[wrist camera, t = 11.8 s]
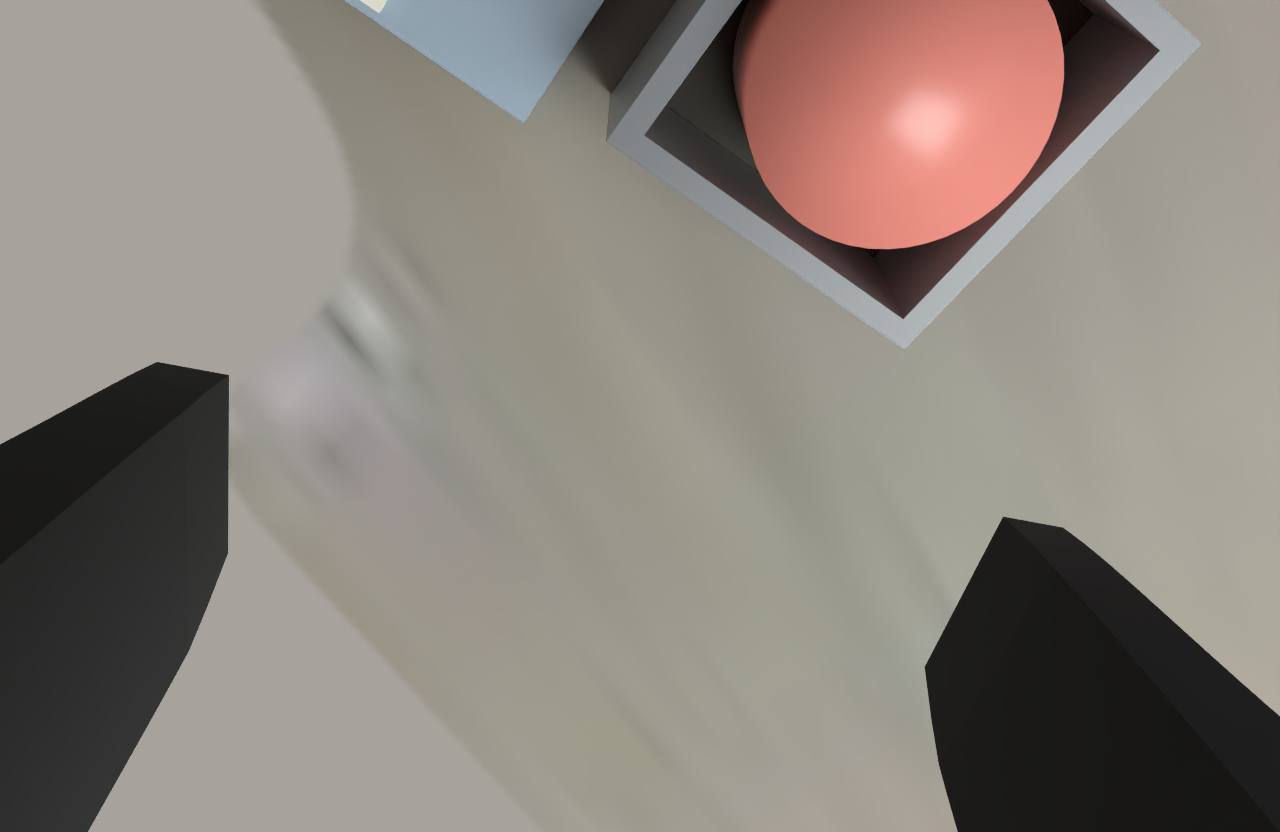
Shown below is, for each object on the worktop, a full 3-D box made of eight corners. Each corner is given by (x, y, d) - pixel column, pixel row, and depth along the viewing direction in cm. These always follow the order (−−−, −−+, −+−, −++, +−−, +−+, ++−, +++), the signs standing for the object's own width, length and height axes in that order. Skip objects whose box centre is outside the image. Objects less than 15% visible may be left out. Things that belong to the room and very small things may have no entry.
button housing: (1129, 7, 16) (1201, 44, 14) (874, 284, 19) (904, 349, 17) (849, -252, 15) (885, -255, 12) (610, 94, 17) (606, 141, 15)
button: (1069, 27, 16) (1132, 65, 14) (878, 240, 18) (908, 301, 16) (861, -159, 15) (896, -147, 13) (678, 93, 17) (683, 139, 15)
